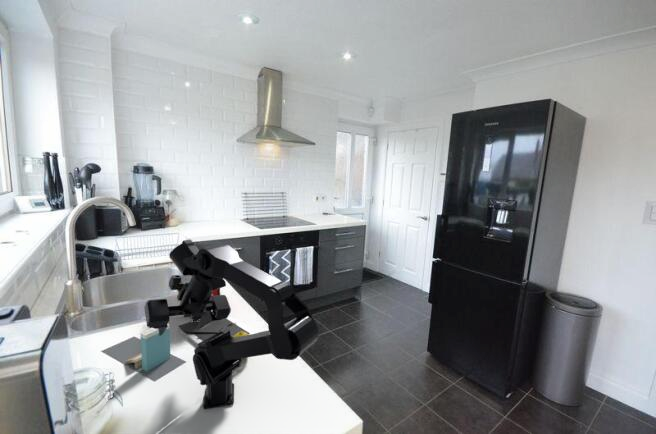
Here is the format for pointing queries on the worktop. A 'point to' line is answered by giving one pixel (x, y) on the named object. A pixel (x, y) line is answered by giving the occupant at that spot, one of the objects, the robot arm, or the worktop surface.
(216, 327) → the picture frame
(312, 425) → the worktop surface
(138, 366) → the ramp
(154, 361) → the card deck
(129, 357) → the mat
